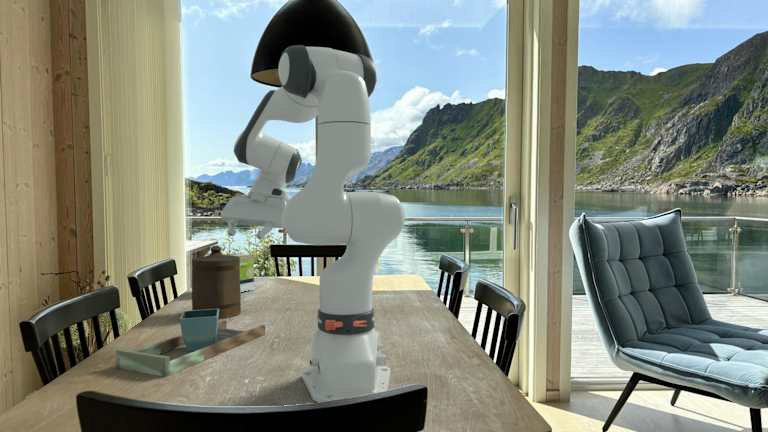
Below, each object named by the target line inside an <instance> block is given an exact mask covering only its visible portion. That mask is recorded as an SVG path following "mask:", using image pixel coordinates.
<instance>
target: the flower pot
mask: <svg viewBox="0 0 768 432" xmlns="http://www.w3.org/2000/svg"><path fill="white" fill-rule="evenodd" d="M218 322H219V309H205V310H192V309H191V310H185V311H184V310H183V311H182V313H181V315H180V317H179V323H180V328H181V329H180V330H181V335H182V337H183V340H184V343H185V345H184V346H185V347H186V348H187V350H188V352H189V353H192V352H193V351H197V350H199V349H202V348H204V347H207V346H209V345H212V344H215V340H216V336H217V330H218Z"/></svg>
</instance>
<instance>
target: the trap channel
mask: <svg viewBox="0 0 768 432" xmlns="http://www.w3.org/2000/svg"><path fill="white" fill-rule="evenodd" d="M265 335H266V325H264V324H261V325H258V326H256V327H253V328H251V329H248V330H246V331H245V330H237V329H230V328H227V320H221V321H220V320H219V321H218V330H217V336H216V340H215V343H214V344H212V345H209V346H207V347H204V348H202V349H199V350H197V351H194V352H189V353H186V354H184V355H182V356H180V357H177V358H175V359H172V360H170V356H168V355H162V354H164V353H163V352H165V353H167V352H169V351H168V350H170V351H172V350H171V349H173V350H175V349H174V348H176V347H178V348H180V347H179V346H181V347H183V346H182V345H184V344H185V343H184V340H183V337H182V334H179V335H177V336H174V337H171V338H168V339H164V340H162V341H158V342H156V343H153V344H151V345H148V346H145V347H142V348H141V347H140V348H139V349H135V350H129V349H124V348H119V349H116V350H115V363H116V364H115V365H116V369H118V370H123V371H124V370H125V371H131V372H136V373H142V374H149V375H153V376H159V377H164V378H165V377H169V376H171V375H174V374H175V373H178V372H180V370H181V371H183V370H185V369H187V368H186V367H188V368H190V367H192V366H194V365H193V364H195V365H196V363H197V364H199V363H202V362H204V361H206V360H208V359H207V358H209V359H211V358H213V357H212V356H214V357H215V355H216V356H218V355H220V354H219V353H221V354H222V352H223V353H225V352H227V350H228V351H230V350H232V349H235V348H237V347H239V346H242V345H243V344H246V343H249V342H251V341H254V340H255V339H258V338H261V337H263V336H265ZM184 346H185V345H184ZM236 346H237V347H236ZM234 347H235V348H234ZM176 349H177V348H176ZM229 349H230V350H229ZM166 351H167V352H166ZM224 351H225V352H224ZM160 353H162V354H160ZM158 354H159V355H158ZM217 354H218V355H217ZM210 357H211V358H210ZM205 359H206V360H205ZM203 360H204V361H203ZM201 361H202V362H201ZM198 362H199V363H198ZM191 365H192V366H191ZM189 366H190V367H189ZM184 368H185V369H184ZM182 369H183V370H182ZM173 373H174V374H173Z"/></svg>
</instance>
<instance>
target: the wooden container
mask: <svg viewBox="0 0 768 432" xmlns="http://www.w3.org/2000/svg"><path fill="white" fill-rule="evenodd" d="M222 250H223V248H222V247H221V246H219V245H213V246H211V247H210V254H208V255H203V256H196V257H195V256H194V257H193V258H192V259H191V267H192V268H191V269H192V271H191V304H192V305H191V307H192V308H191V311H192V310H205V309H219V318H222V319H229V318H232V317H236V316H239V315H240V314H241V313H242V303H241V301H242V298H241V296H242V295H241V294H242V293H241V291H240V268H239V267H240V257H238V256H231V255H224V254H223V253H222ZM228 317H229V318H228Z"/></svg>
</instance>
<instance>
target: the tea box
mask: <svg viewBox="0 0 768 432" xmlns="http://www.w3.org/2000/svg"><path fill="white" fill-rule="evenodd" d="M223 255H231V256H238V257H240V267H239V268H240V291H241V292H244V291H248V290H252V289H254V290H255V272H254V271H255V267H254V266H255V255H254V254H252V253H251V254H250V253H243V252H242V253H241V252H240V253H239V252H235V253H226V254H223ZM244 293H245V292H244Z"/></svg>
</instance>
